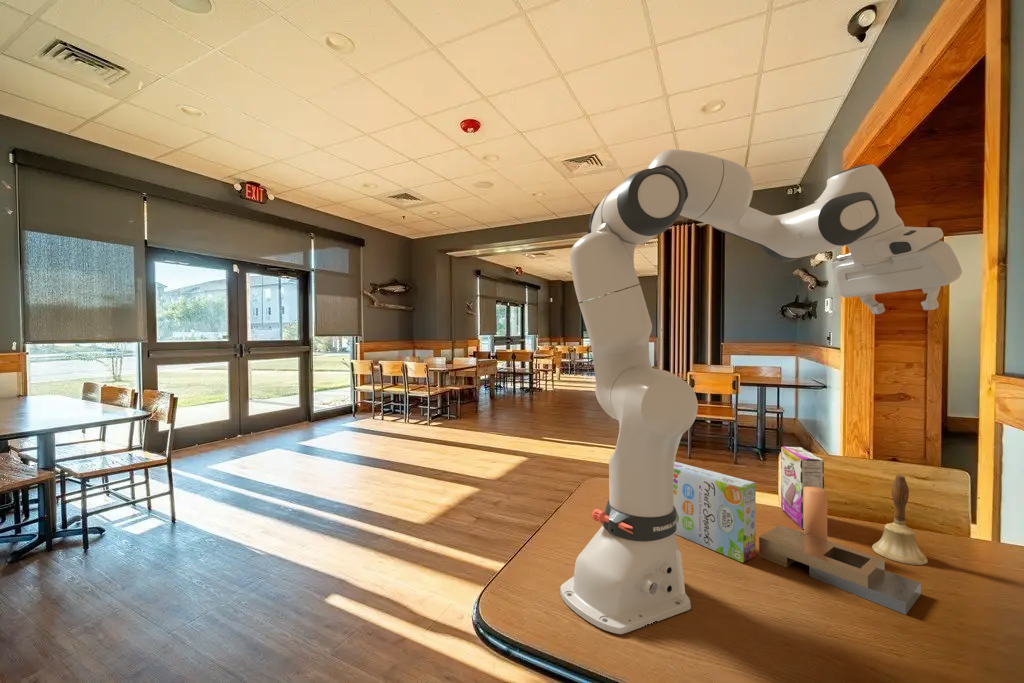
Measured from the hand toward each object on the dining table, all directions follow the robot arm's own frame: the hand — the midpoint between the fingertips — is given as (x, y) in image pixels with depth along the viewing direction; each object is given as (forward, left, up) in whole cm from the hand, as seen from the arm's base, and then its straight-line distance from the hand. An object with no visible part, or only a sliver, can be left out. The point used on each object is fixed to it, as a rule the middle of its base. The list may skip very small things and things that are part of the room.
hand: (903, 311), depth 83 cm
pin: (-9, +12, -49) cm, 51 cm away
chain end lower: (-18, +2, -49) cm, 52 cm away
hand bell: (+1, +1, -49) cm, 49 cm away
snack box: (-25, +28, -49) cm, 62 cm away
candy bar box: (+3, +19, -49) cm, 53 cm away
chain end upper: (-18, +8, -49) cm, 53 cm away
